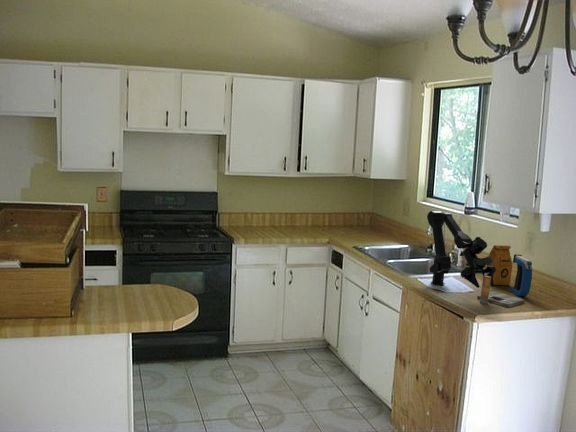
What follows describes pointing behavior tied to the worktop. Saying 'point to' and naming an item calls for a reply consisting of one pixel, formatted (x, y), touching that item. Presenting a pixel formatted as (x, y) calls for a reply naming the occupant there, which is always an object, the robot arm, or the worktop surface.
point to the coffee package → (501, 264)
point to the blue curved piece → (522, 276)
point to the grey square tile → (503, 299)
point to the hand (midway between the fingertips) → (485, 287)
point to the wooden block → (485, 289)
